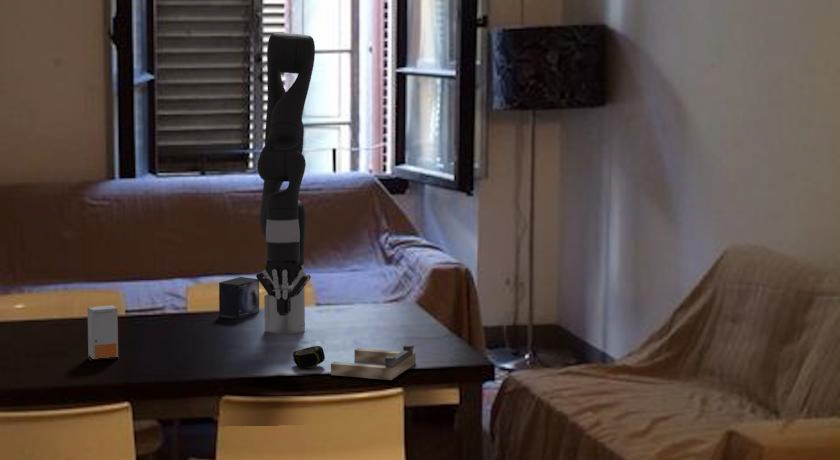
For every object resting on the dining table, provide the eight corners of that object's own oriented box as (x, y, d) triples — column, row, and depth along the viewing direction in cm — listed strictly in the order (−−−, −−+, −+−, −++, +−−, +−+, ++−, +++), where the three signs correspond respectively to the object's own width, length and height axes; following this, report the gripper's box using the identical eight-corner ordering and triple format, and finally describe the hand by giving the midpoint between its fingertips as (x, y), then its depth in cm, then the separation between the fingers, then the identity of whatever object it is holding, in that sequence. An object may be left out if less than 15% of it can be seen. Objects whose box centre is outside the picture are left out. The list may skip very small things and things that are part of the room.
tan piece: (330, 374, 282) (330, 354, 282) (357, 358, 297) (357, 339, 297) (391, 380, 278) (391, 359, 277) (415, 363, 293) (415, 344, 292)
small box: (239, 324, 336) (238, 284, 334) (217, 321, 338) (217, 282, 337) (261, 316, 345) (260, 278, 344) (240, 314, 348) (239, 276, 346)
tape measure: (324, 357, 293) (320, 342, 292) (327, 365, 286) (323, 349, 285) (295, 365, 292) (291, 350, 291) (297, 374, 285) (293, 358, 284)
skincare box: (92, 362, 293) (91, 310, 292) (88, 358, 297) (86, 306, 296) (119, 359, 296) (117, 307, 295) (114, 355, 300) (113, 304, 298)
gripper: (248, 240, 289) (250, 316, 291) (303, 242, 285) (304, 319, 287) (263, 236, 296) (264, 310, 298) (316, 238, 292) (317, 313, 294)
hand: (284, 314), depth 293 cm, fingers closed
